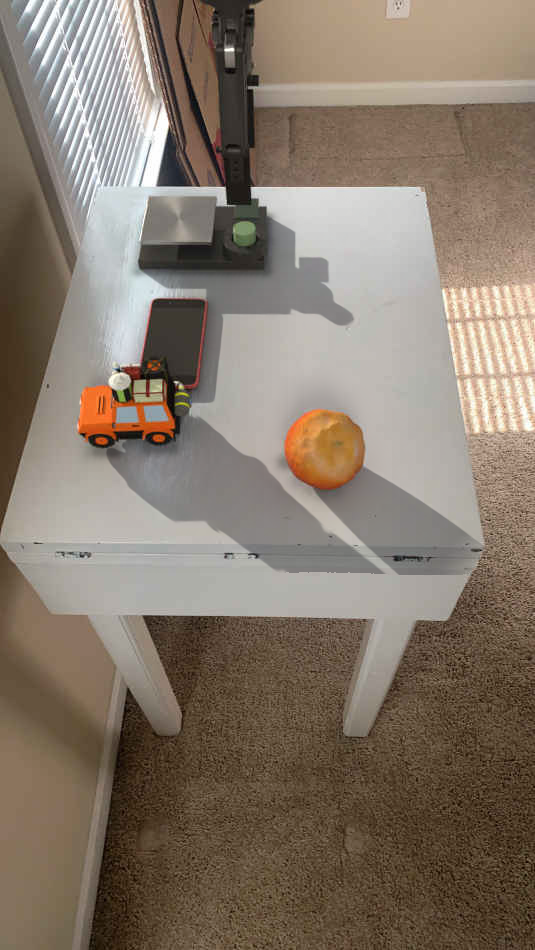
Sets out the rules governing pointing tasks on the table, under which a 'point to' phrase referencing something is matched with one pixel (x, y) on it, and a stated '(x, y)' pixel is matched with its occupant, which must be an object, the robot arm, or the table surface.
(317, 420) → the fruit
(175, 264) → the scale
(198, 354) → the smartphone
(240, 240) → the tare button
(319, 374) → the table surface
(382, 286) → the table surface
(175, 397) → the toy car
